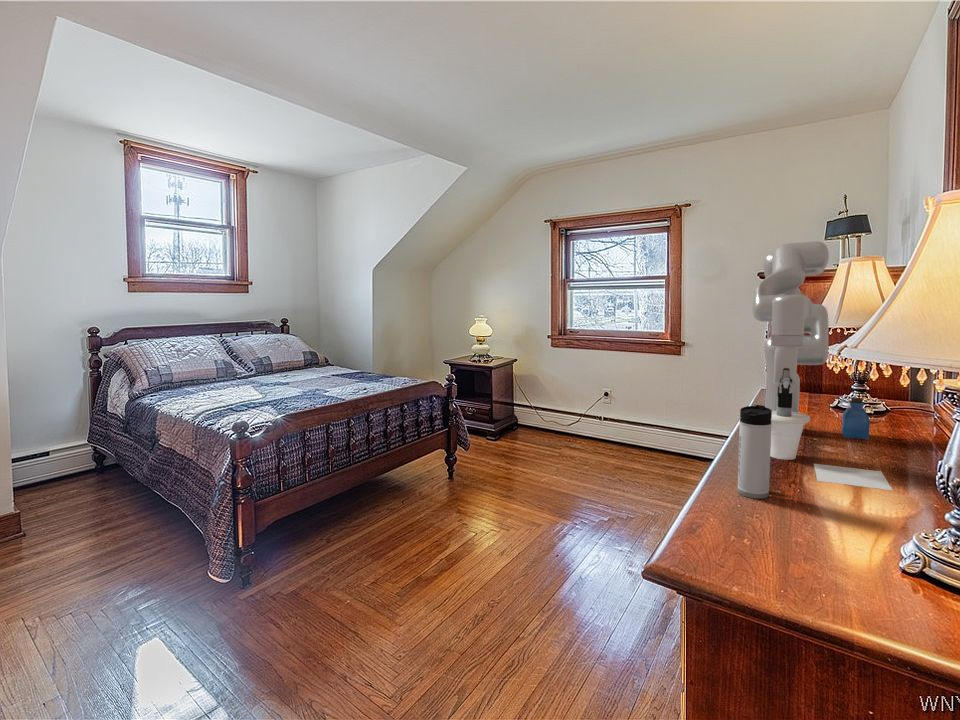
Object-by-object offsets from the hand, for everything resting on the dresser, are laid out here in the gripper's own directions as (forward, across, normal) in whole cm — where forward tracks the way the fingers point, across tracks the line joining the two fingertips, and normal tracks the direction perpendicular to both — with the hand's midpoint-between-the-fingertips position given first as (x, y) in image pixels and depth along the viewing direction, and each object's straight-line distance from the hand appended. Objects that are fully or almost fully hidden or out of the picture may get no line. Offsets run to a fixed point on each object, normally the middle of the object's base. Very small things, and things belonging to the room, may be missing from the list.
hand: (784, 404), depth 136 cm
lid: (+4, 0, 0) cm, 4 cm away
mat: (+15, +11, +14) cm, 23 cm away
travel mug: (+15, +32, -6) cm, 36 cm away
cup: (+15, 0, 0) cm, 15 cm away
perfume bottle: (+15, -34, +20) cm, 42 cm away
